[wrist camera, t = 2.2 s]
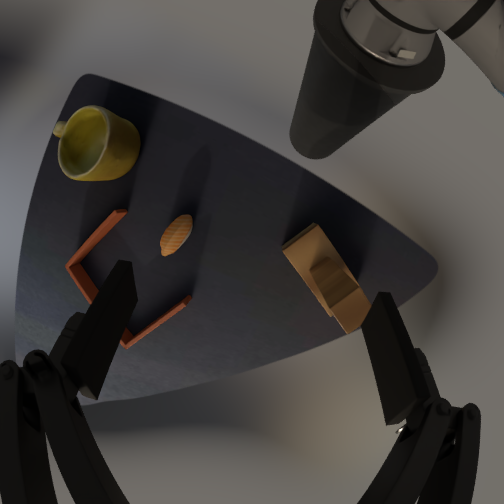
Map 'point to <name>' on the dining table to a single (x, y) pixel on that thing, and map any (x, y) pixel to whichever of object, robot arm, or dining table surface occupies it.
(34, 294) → the dining table surface
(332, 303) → the brown boxy piece
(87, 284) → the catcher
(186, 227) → the sushi
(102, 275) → the dining table surface
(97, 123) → the mug
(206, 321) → the dining table surface
